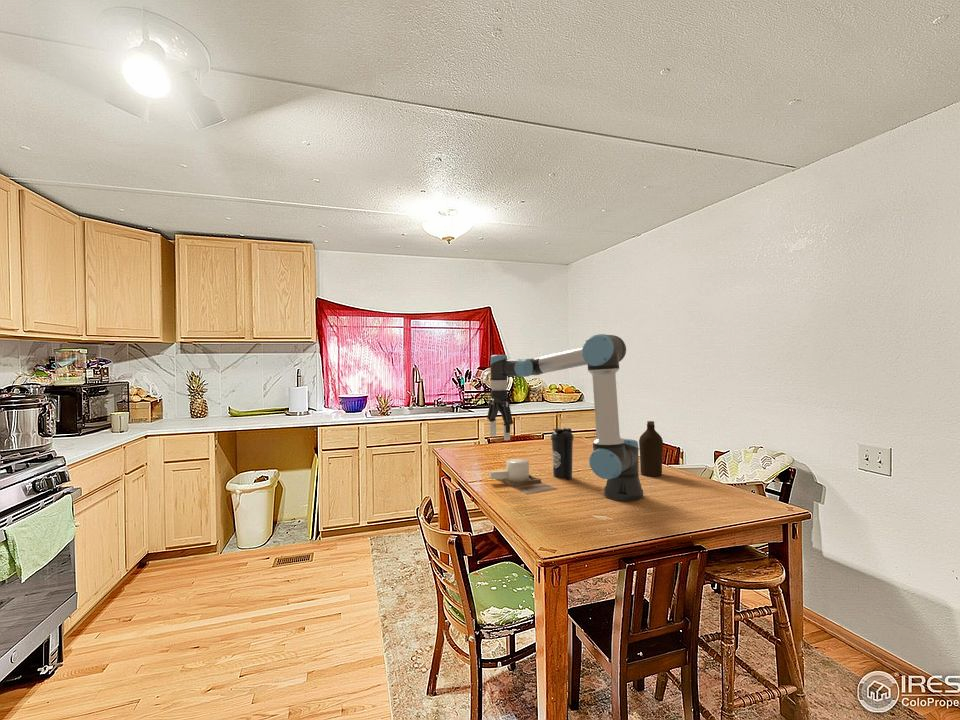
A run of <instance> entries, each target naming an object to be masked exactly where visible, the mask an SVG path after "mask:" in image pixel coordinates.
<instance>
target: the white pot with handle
mask: <svg viewBox="0 0 960 720" xmlns="http://www.w3.org/2000/svg"><path fill="white" fill-rule="evenodd" d="M505 466H506V467H505V469H500V470H489V479H491V480H497V479H504V478H506V479H507V480H509V481H511V482H513V483H515V482H521V481H528V480H529V474H530V461H529V460H528V459H524V458H511V459H507V460H506V461H505Z"/></svg>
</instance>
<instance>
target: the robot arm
mask: <svg viewBox="0 0 960 720" xmlns="http://www.w3.org/2000/svg"><path fill="white" fill-rule="evenodd" d="M626 354H627V346H626V343H625V341H624V340H623V339H622V338H621V337H619V336H618V335H615V334H614V335H613V334H605V333H603V334H602V333H599V334H594V335H592V336H590V337H588V338H587V339H586V340H585V341H584V342H583V344H582V347H578V348H575V349H570V350H569V349H568V350H565V351H562V352H557V353H552V354H548V355H544V356H538V357H534V358H513V359H511V358H510V359H509V358H508V355H507V354H493V355H490V364H489V366H490V389H491V390H490V398H491V399H490V400H489V406H488V410H487V411H488V412H487V417H486V418H487V420H488V421H489V436H490V437H494V436H497V419H496V418H497V416H498V413H500V415H501V418H502V420H503V423H504V424H503V440H504V441H511V425H513V424H514V420H513V416H512V412H511V408H510V407H511V406H510V401H506V399H508V397H509V395H508V394H509V392H508V385H509V384H508V383H509V382H508V377H518V378H519V377H520V378H527V377H530V376H540V375H543V374H547V373H552V372H556V371H561V370H568V369H572V368H577V367H583V366H587V371H588V373H590V374H591V376H592V389H593V391H592V393H593V402H594V403H593V405H594V418H595V419H594V420H595V434H596V437H595V439H594V440H593V441H592V449H593V451H592V452H591V454H590V456H589V461H588V462H589V463H588V464H589V467H590V469H591V470H592V472H593V473H594V474H595V475H596V476H597V477H598V478H601V479H603V480H606V484H605V487H604V488H603V489H604V490H603V495H604V496H605V497H606V498H608V499H611V500H615V501H618V502H619V501H620V502H636V501H640V500H642V499H644V489H643V488H642V483H641V481H640V477H639V472H640V471H639V464H640V463H639V462H640V455H639V451H640V449H639V441H637V440H636V439H630V438H622V437H621V435H620V423H619V422H620V420H619V407H618V406H619V405H618V393H617V377H616V374H617V372H618V371H619V370H620V362H621V361H623V360H624V358H625V356H626Z"/></svg>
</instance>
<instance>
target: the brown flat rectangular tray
mask: <svg viewBox="0 0 960 720" xmlns="http://www.w3.org/2000/svg"><path fill="white" fill-rule="evenodd" d="M496 480H497V481H499V482H501V483H503V484H505V485H507V486H509V487H511V488H513V489H516V490H517V491H519V492H521V493H523V494H526V495H533V494H539V493H544V492H545V493H546V492H550V491H555V490H558V488H556V487H553V486H552V485H549V484H547V483H544V482H542V479H541V478H539V477H537V476H535V475H532V474H530V473H529V480H528V481H521V482H515V483H513V482H511V481H509V480H507V479H506V478H504V479H496Z"/></svg>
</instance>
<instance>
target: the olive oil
mask: <svg viewBox="0 0 960 720" xmlns="http://www.w3.org/2000/svg"><path fill="white" fill-rule="evenodd" d="M646 422H647V424H646V430H645V431H644V432H643V433H642V434H641V435H640V437H639V440H638V448H639V462H640V463H639V464H640V475H642V476H644V477H651V478H657V477H661V476H663V453H664V451H663V449H664V442H663V438H662V436H661V435H660V433H658V432H657V431H656V429H655V428H656V427H655V421H652V420H648V421H646Z"/></svg>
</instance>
